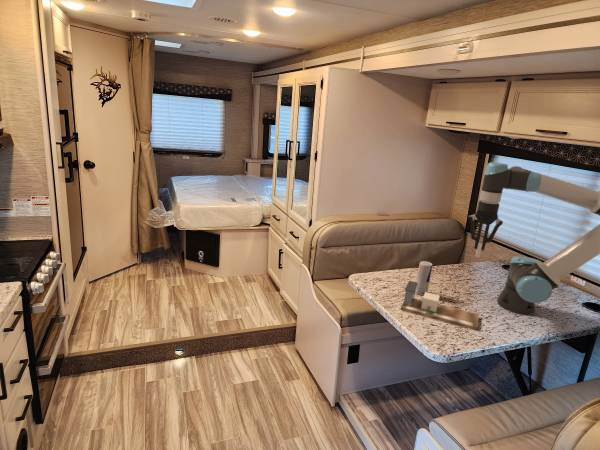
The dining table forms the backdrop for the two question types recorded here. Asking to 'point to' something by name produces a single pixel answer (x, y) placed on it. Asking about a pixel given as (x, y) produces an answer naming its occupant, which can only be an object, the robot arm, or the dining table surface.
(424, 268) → the beverage can
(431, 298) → the cream cube with rod
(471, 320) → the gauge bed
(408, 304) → the two-tone oblong block
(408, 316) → the dining table surface
